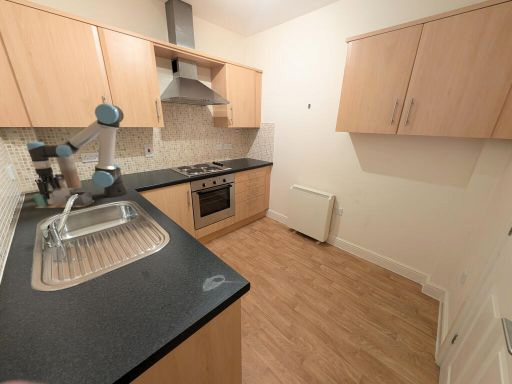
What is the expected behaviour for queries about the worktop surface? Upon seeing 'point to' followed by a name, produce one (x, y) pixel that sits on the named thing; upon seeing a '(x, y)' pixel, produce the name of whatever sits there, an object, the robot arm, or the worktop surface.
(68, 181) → the vase
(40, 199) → the socket
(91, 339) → the worktop surface
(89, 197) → the sleeve
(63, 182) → the coffee box
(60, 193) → the tube
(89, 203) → the board
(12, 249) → the worktop surface
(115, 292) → the worktop surface
